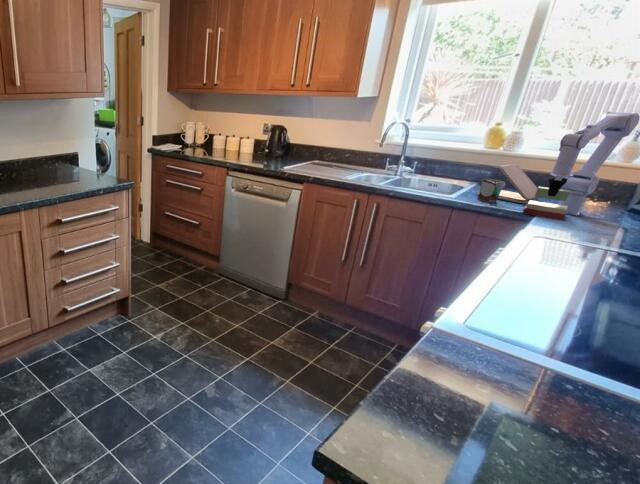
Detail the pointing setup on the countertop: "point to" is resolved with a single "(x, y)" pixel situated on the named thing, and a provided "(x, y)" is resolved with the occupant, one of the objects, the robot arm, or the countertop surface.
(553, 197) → the green block
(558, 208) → the book stack
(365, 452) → the countertop surface
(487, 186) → the food container
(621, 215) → the countertop surface
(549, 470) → the countertop surface
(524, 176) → the case
